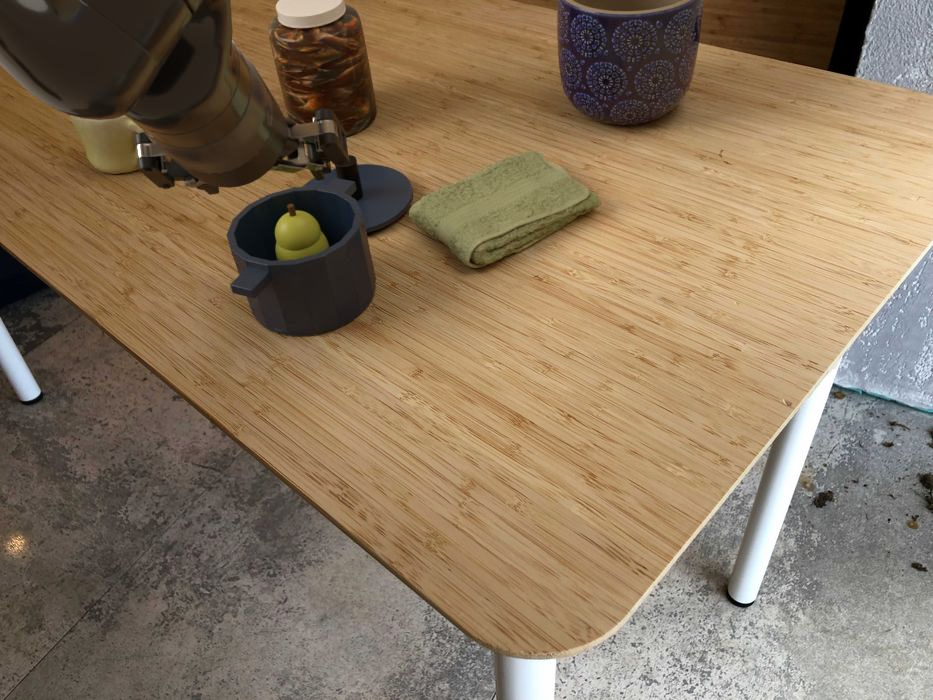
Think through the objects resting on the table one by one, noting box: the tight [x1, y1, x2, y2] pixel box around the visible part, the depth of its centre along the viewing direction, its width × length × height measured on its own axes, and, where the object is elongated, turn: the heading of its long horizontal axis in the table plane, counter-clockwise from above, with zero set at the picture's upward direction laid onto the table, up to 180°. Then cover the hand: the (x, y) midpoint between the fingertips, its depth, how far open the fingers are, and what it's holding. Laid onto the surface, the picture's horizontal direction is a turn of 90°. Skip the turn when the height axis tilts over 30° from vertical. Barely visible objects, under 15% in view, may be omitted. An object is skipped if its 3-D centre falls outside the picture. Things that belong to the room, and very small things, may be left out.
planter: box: [556, 0, 705, 126], centre depth 101 cm, size 17×17×15 cm
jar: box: [268, 0, 378, 137], centre depth 105 cm, size 12×12×15 cm
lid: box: [301, 154, 414, 233], centre depth 93 cm, size 13×13×6 cm
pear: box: [275, 204, 329, 261], centre depth 80 cm, size 5×5×10 cm
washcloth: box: [408, 151, 602, 269], centre depth 90 cm, size 13×18×3 cm
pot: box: [226, 178, 377, 337], centre depth 81 cm, size 12×18×8 cm
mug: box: [69, 115, 144, 175], centre depth 104 cm, size 12×10×10 cm
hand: (266, 174), depth 68 cm, fingers open, 8 cm apart
